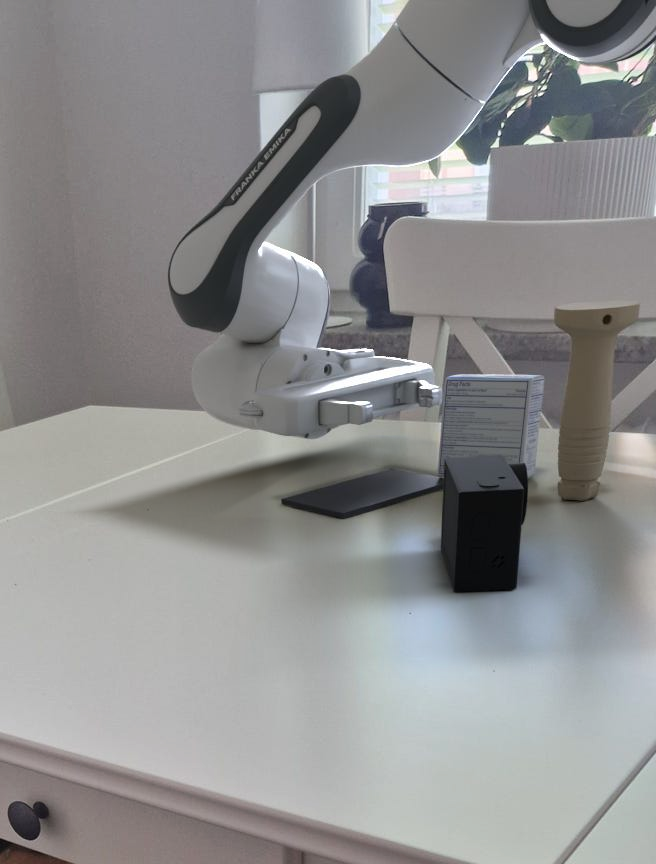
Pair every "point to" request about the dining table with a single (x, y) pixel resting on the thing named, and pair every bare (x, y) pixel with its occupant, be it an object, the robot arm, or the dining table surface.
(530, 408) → the medicine box
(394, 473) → the smartphone
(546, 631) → the dining table surface
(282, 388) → the robot arm
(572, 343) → the handle
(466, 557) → the digital camera
